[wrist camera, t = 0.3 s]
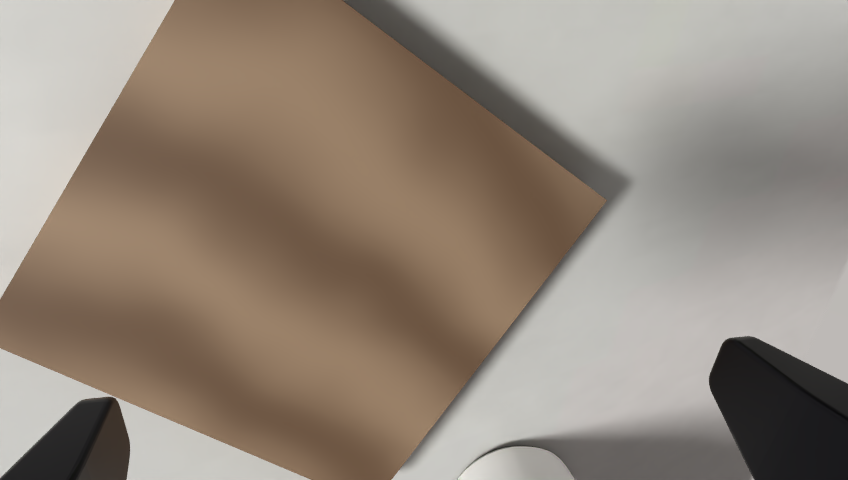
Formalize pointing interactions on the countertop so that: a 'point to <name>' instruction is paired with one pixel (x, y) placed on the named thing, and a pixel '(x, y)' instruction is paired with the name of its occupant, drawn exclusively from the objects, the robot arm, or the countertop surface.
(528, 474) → the can
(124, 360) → the cutting board
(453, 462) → the countertop surface
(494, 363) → the countertop surface
